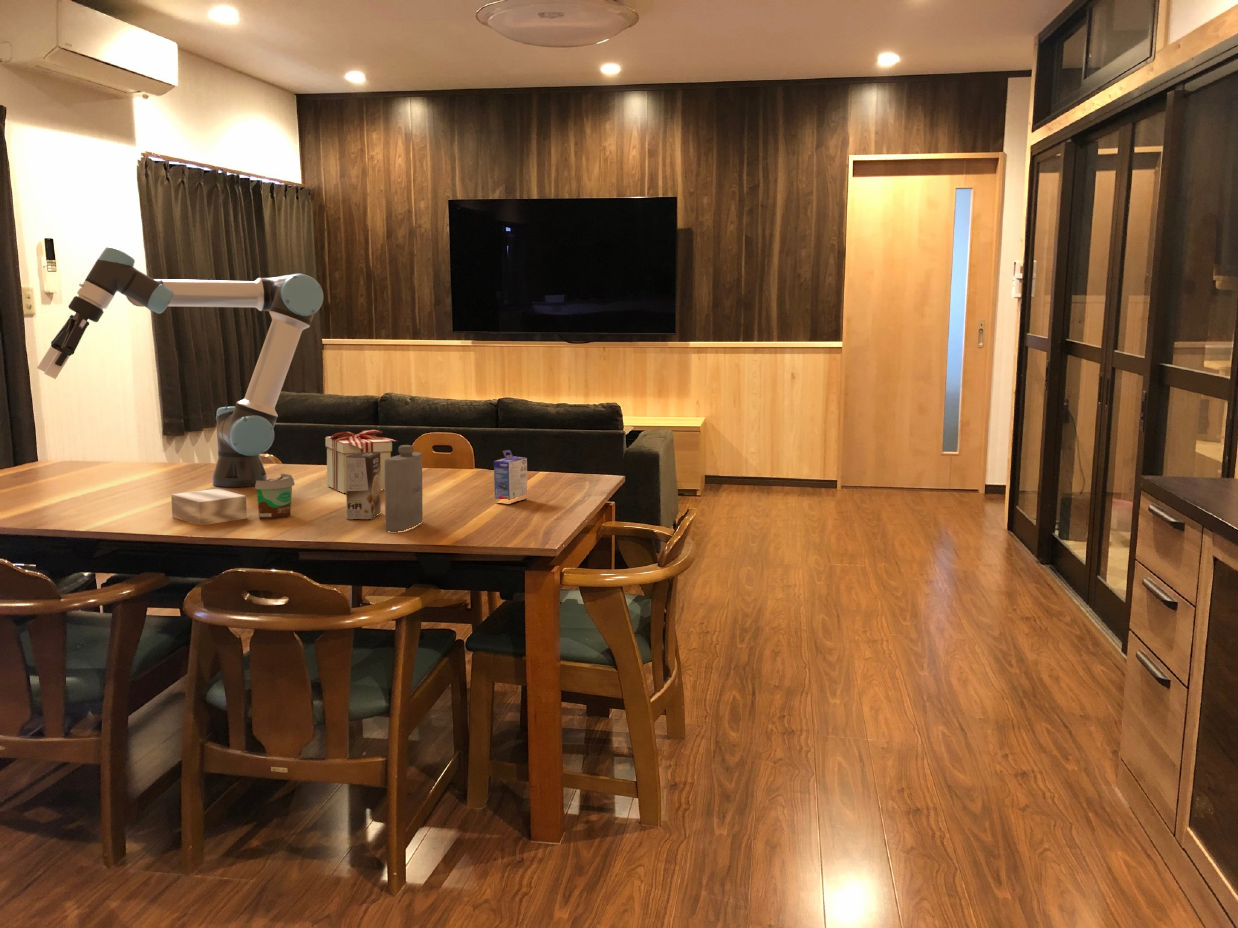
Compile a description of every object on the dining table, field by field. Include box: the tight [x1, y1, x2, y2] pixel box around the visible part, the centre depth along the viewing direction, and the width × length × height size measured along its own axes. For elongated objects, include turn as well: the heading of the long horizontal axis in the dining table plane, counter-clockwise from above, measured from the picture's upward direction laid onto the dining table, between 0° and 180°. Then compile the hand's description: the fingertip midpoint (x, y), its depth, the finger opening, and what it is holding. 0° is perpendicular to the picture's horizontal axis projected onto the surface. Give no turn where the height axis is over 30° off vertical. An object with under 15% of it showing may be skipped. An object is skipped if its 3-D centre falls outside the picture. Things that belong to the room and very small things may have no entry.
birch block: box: [170, 488, 248, 526], centre depth 237 cm, size 12×14×6 cm
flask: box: [384, 444, 424, 532], centre depth 230 cm, size 15×6×20 cm, turn 170°
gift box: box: [325, 429, 397, 494], centre depth 280 cm, size 17×18×17 cm
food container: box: [254, 473, 296, 521], centre depth 239 cm, size 12×6×10 cm, turn 168°
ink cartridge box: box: [493, 449, 528, 500], centre depth 266 cm, size 10×6×14 cm, turn 155°
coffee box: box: [346, 452, 382, 520], centre depth 241 cm, size 9×6×16 cm
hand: (45, 373), depth 242 cm, fingers open, 13 cm apart
